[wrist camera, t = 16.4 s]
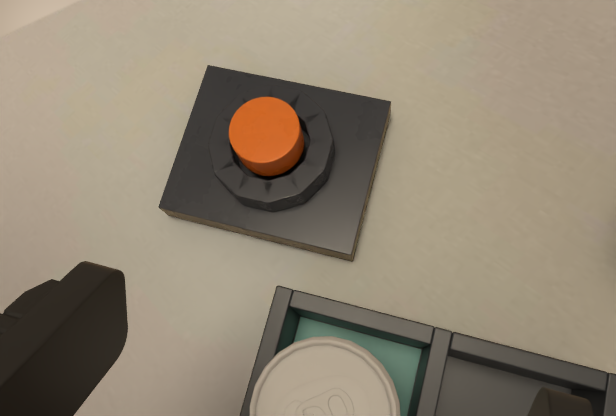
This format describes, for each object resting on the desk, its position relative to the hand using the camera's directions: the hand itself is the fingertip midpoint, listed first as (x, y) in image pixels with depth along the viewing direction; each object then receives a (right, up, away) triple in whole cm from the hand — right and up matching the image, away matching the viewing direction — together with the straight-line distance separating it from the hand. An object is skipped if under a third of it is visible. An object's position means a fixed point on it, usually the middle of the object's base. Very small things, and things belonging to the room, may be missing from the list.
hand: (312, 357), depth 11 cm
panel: (-2, +5, +23) cm, 24 cm away
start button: (-2, +6, +20) cm, 21 cm away
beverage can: (+2, -7, +18) cm, 20 cm away
